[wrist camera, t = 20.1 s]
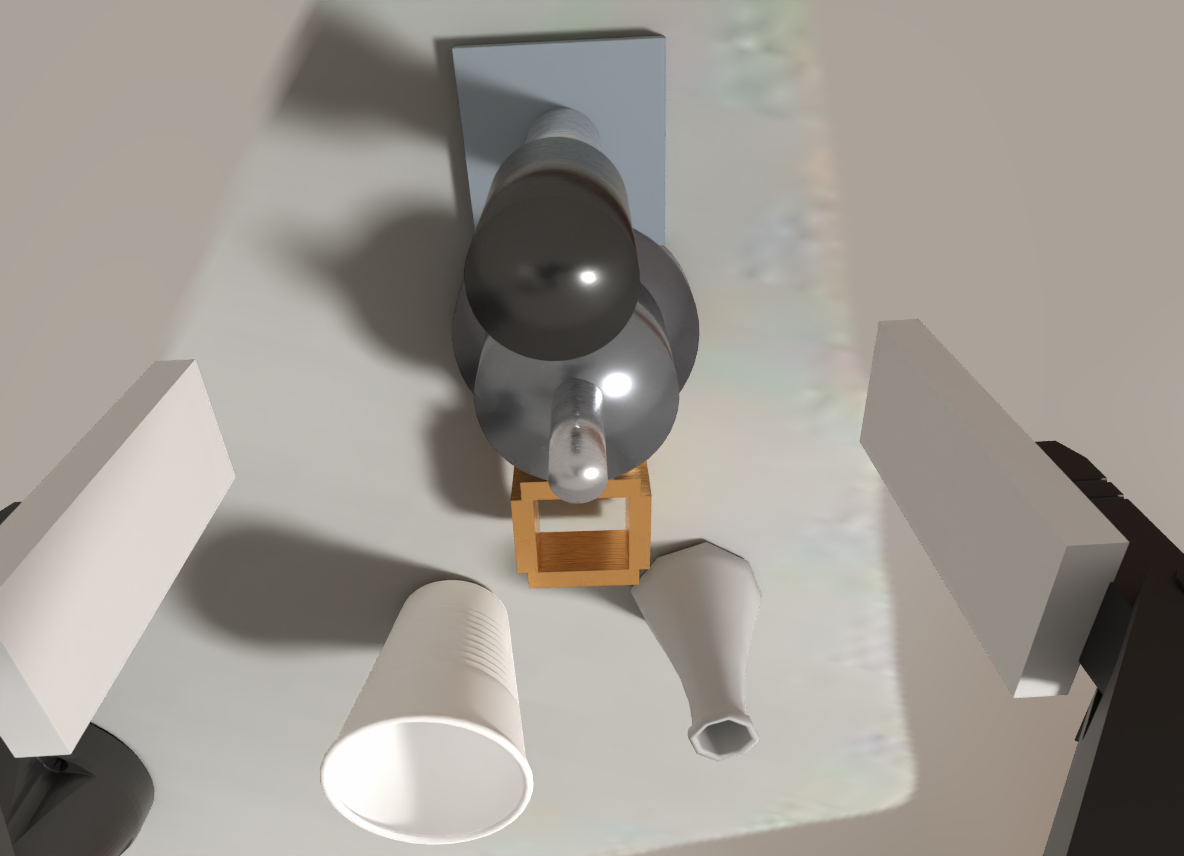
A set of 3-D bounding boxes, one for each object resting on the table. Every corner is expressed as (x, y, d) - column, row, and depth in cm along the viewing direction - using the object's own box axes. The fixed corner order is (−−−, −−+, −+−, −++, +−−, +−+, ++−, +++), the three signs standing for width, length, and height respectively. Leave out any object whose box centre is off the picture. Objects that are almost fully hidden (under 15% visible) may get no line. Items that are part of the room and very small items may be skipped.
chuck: (477, 260, 33) (444, 378, 24) (668, 254, 33) (703, 370, 25) (506, 548, 41) (489, 711, 33) (659, 543, 42) (683, 705, 33)
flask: (709, 520, 43) (744, 665, 35) (782, 593, 46) (830, 742, 38) (607, 585, 46) (616, 736, 37) (683, 650, 49) (706, 803, 40)
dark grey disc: (472, 432, 40) (468, 449, 38) (440, 215, 34) (434, 226, 33) (691, 421, 40) (695, 438, 38) (698, 202, 34) (703, 213, 33)
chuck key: (637, 170, 32) (669, 315, 20) (543, 220, 33) (522, 386, 22) (585, 66, 30) (588, 161, 18) (487, 123, 31) (429, 249, 19)
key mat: (479, 247, 35) (477, 254, 34) (454, 46, 30) (452, 48, 30) (662, 238, 35) (664, 244, 34) (663, 35, 30) (665, 37, 30)
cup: (479, 693, 50) (458, 867, 41) (338, 626, 47) (280, 800, 37) (574, 601, 46) (575, 772, 37) (428, 521, 43) (388, 686, 33)
